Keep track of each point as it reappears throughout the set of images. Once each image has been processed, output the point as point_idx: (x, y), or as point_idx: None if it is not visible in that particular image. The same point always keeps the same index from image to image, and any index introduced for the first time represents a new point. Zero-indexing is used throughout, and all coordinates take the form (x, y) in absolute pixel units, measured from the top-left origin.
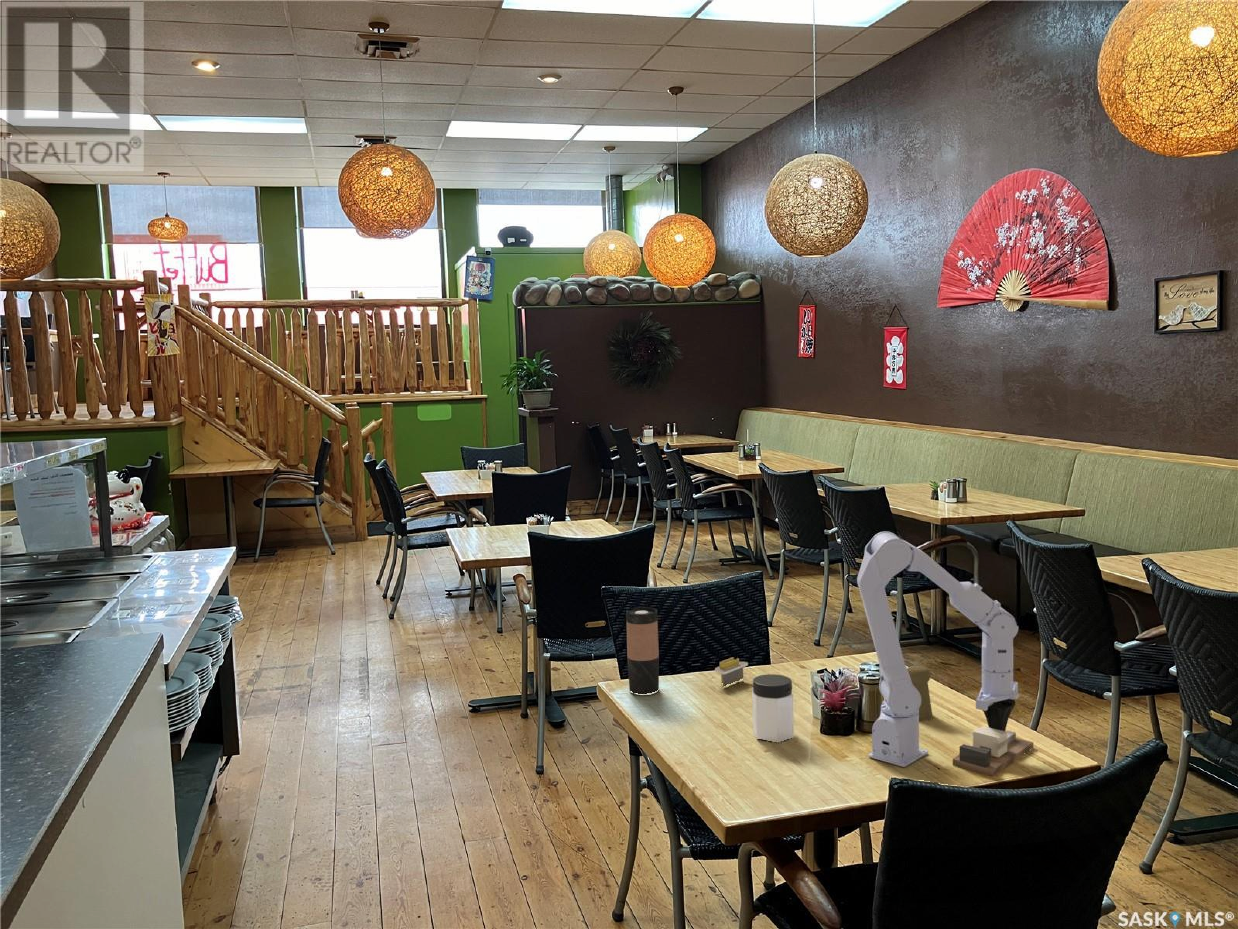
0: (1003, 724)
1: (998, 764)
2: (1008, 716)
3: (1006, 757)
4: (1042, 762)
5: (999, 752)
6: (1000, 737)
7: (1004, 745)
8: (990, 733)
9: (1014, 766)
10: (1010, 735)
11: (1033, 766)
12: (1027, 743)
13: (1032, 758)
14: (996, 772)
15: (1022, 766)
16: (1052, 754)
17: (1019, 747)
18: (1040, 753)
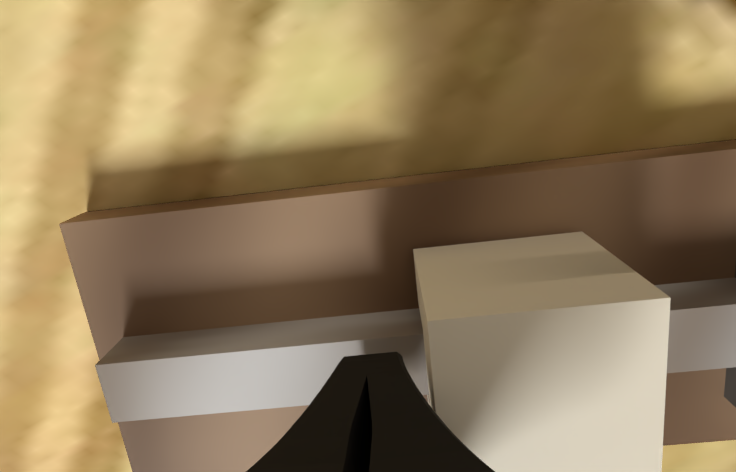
0: (410, 414)
1: (679, 172)
2: (284, 465)
3: (500, 204)
4: (270, 21)
5: (571, 245)
6: (607, 298)
7: (475, 267)
8: (599, 411)
9: (495, 128)
10: (186, 361)
11: (394, 28)
12: (120, 240)
13: (259, 117)
14: (732, 142)
15: (454, 87)
16: (69, 52)
17: (242, 239)
18: (127, 126)
